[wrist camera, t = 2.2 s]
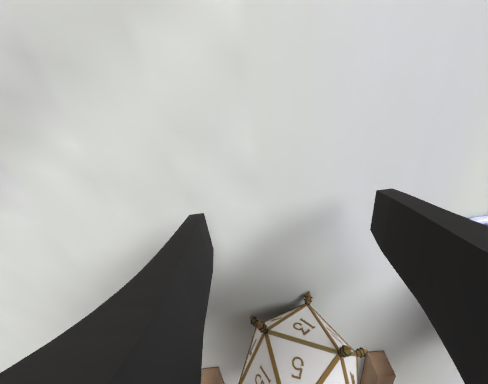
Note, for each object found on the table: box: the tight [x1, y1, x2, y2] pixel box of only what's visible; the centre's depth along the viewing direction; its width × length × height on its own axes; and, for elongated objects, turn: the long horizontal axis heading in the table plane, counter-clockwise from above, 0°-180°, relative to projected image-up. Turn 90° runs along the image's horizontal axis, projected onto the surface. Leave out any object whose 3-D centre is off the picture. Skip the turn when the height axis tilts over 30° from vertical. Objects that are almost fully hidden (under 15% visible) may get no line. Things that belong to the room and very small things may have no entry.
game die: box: [239, 292, 368, 384], centre depth 16 cm, size 9×8×10 cm
